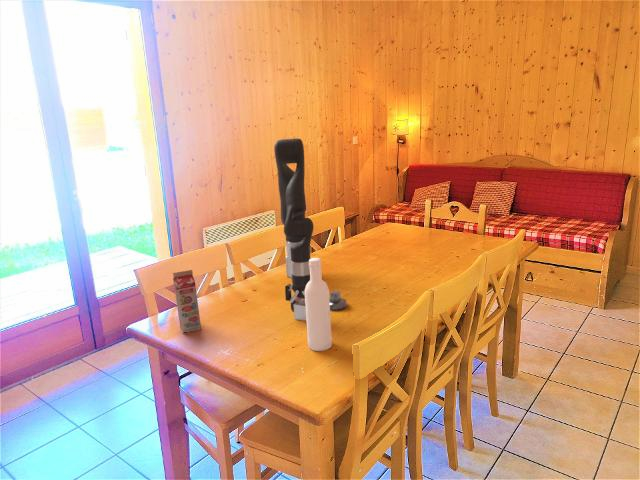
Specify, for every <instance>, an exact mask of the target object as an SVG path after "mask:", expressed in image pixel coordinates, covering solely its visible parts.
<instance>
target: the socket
mask: <svg viewBox="0 0 640 480" xmlns="http://www.w3.org/2000/svg"><path fill="white" fill-rule="evenodd" d="M293 313H294V320H296V321H304V322H307V320H306V305H305V299H300V300H298V301H297V302H296V303H295V304H294V312H293Z"/></svg>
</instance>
